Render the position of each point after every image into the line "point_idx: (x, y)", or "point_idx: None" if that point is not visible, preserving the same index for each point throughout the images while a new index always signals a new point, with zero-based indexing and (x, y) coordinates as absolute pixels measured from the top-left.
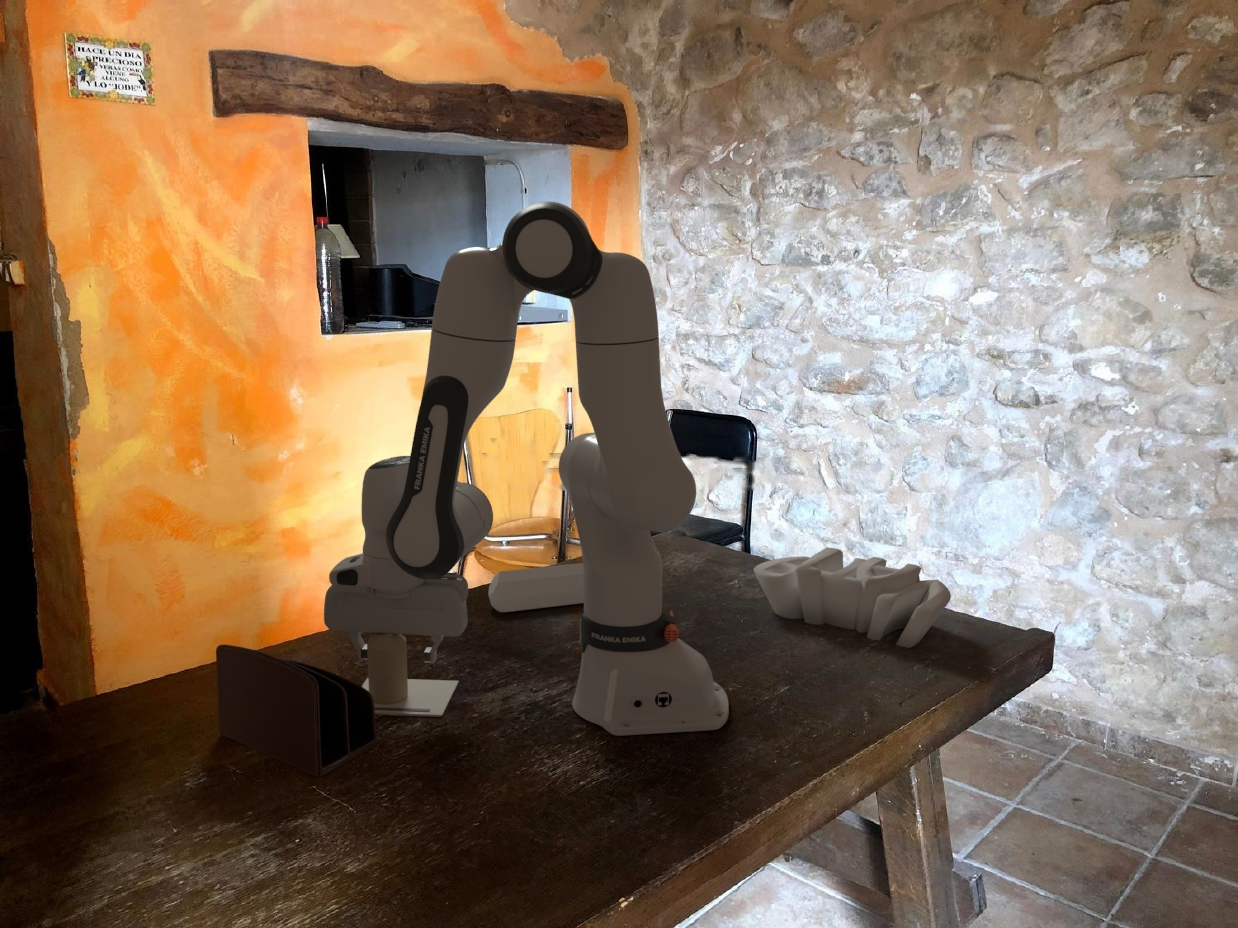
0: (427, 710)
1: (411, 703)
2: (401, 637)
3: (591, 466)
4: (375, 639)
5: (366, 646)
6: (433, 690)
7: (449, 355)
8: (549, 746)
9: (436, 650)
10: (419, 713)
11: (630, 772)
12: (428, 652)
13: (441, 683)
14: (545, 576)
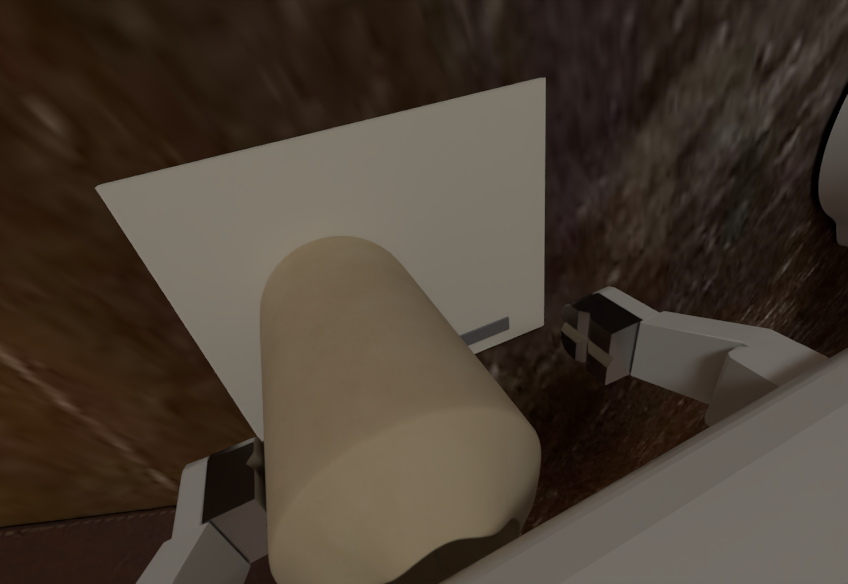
0: (503, 327)
1: (441, 310)
2: (534, 489)
3: None
4: None
5: (252, 530)
6: (476, 199)
7: None
8: (734, 321)
9: (643, 309)
10: (486, 346)
11: (811, 329)
12: (623, 374)
13: (487, 128)
14: None
